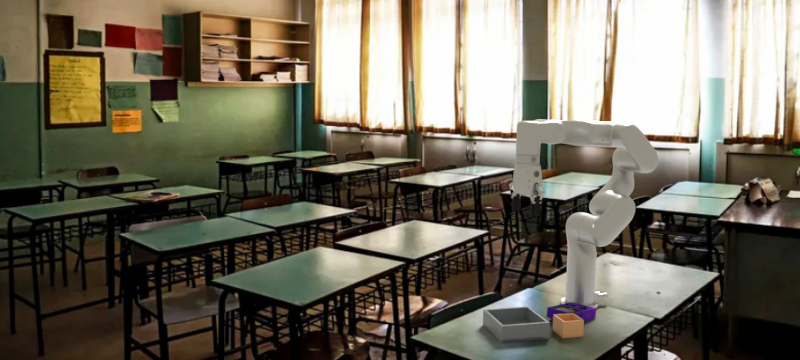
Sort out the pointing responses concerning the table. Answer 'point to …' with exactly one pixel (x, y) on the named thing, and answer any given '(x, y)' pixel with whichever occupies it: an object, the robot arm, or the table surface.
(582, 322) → the orange crate
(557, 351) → the table surface
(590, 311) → the handheld gaming console
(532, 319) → the grey square tray
